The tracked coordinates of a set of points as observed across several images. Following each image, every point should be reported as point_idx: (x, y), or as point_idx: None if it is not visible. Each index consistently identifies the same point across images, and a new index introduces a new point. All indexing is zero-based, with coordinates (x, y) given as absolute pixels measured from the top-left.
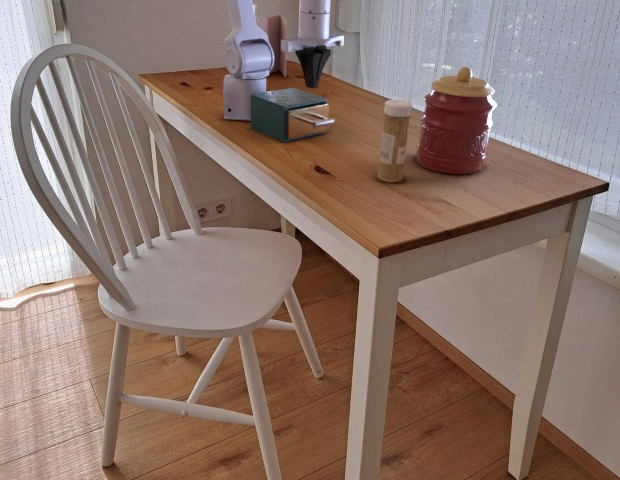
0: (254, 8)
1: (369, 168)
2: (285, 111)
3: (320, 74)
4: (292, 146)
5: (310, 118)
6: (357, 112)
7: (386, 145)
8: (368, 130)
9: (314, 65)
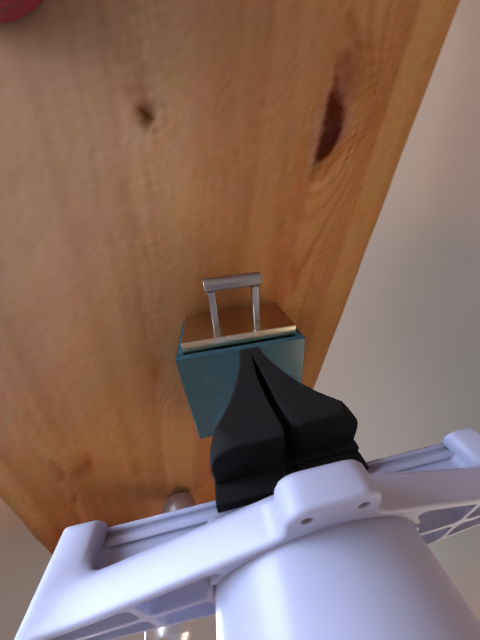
0: None
1: (232, 53)
2: (297, 332)
3: (242, 371)
4: (279, 284)
5: (233, 322)
6: (56, 395)
7: None
8: (85, 300)
9: (293, 386)
